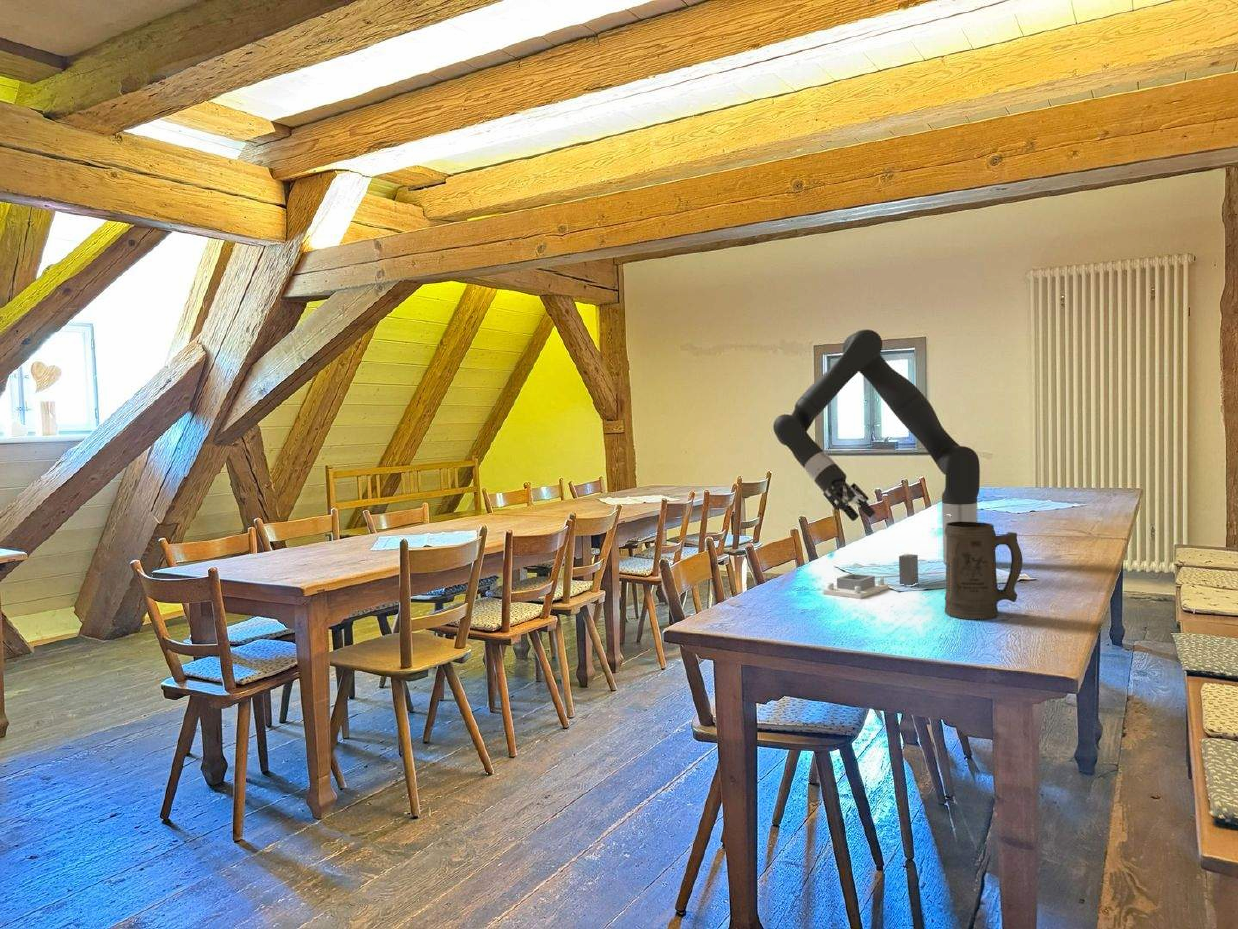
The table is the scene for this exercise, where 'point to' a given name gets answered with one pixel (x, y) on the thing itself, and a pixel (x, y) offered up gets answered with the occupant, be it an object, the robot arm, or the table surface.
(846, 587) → the plate
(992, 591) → the beer stein
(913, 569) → the block
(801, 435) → the robot arm
